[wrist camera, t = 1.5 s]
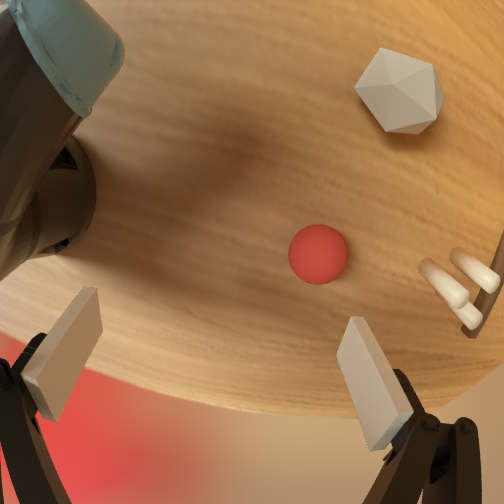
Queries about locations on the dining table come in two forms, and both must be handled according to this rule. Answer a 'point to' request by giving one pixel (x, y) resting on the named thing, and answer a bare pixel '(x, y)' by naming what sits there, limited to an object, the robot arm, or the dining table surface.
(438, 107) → the die
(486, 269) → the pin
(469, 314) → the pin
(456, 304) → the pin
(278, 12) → the dining table surface
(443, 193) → the dining table surface
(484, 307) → the back rail
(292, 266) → the ball
